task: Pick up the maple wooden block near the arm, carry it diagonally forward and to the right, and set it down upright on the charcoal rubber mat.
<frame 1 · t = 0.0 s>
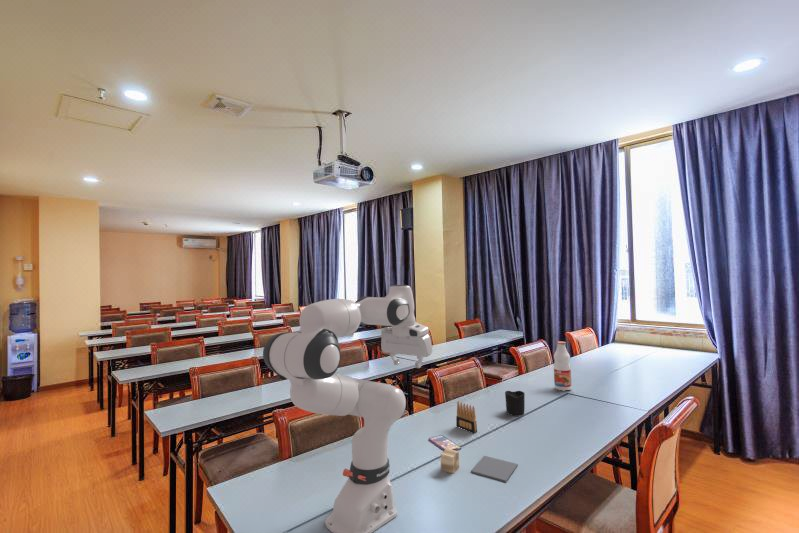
hand: (407, 365, 139), 39 cm above the table, tool pointing down, fingers open, 8 cm apart
ammunition clip: (466, 430, 175), on the table
fruit juice: (563, 389, 229), on the table
smartphone: (444, 445, 161), on the table
pen holder: (515, 413, 194), on the table
maple block: (450, 469, 141), on the table
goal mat: (494, 468, 140), on the table
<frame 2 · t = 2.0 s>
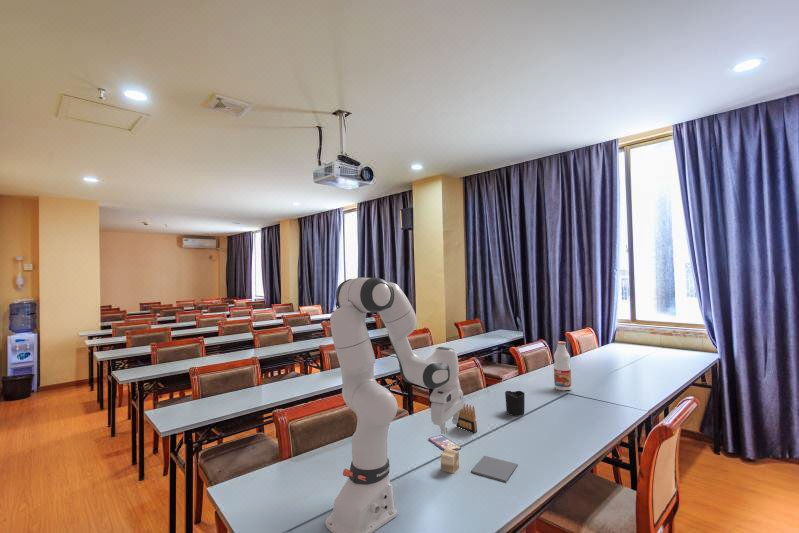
hand: (449, 428, 141), 15 cm above the table, tool pointing down, fingers open, 8 cm apart
nothing on the table moved.
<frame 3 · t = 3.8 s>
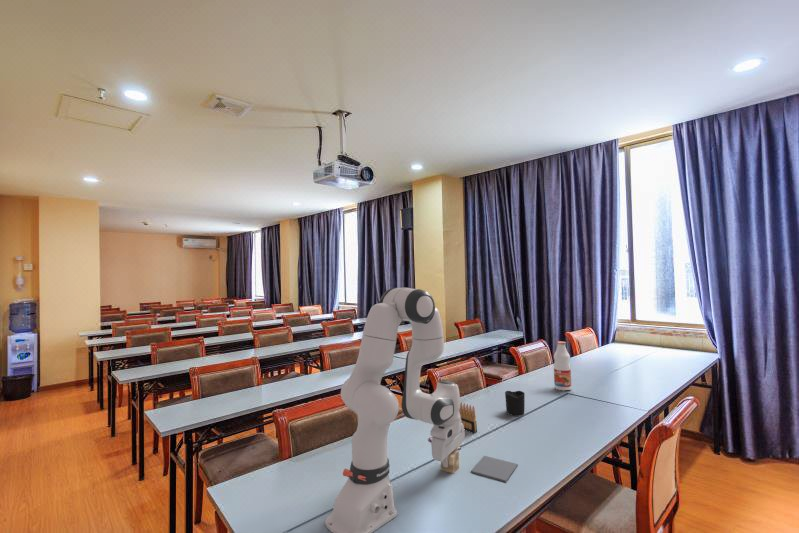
hand: (450, 462, 141), 2 cm above the table, tool pointing down, fingers closed on maple block, 5 cm apart
maple block: (450, 468, 141), on the table, touching gripper
everything else where it was.
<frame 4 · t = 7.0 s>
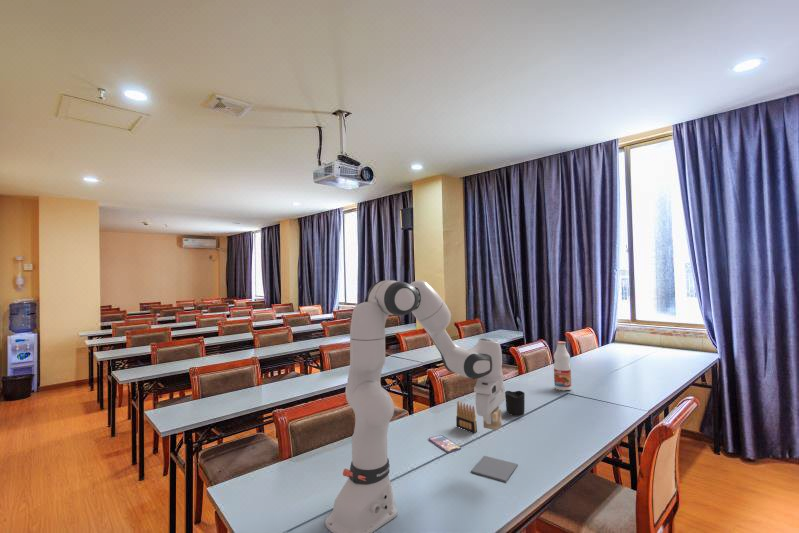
hand: (492, 420, 140), 18 cm above the table, tool pointing down, fingers closed on maple block, 5 cm apart
maple block: (492, 426, 140), point 15 cm above the table, touching gripper
everything else where it was.
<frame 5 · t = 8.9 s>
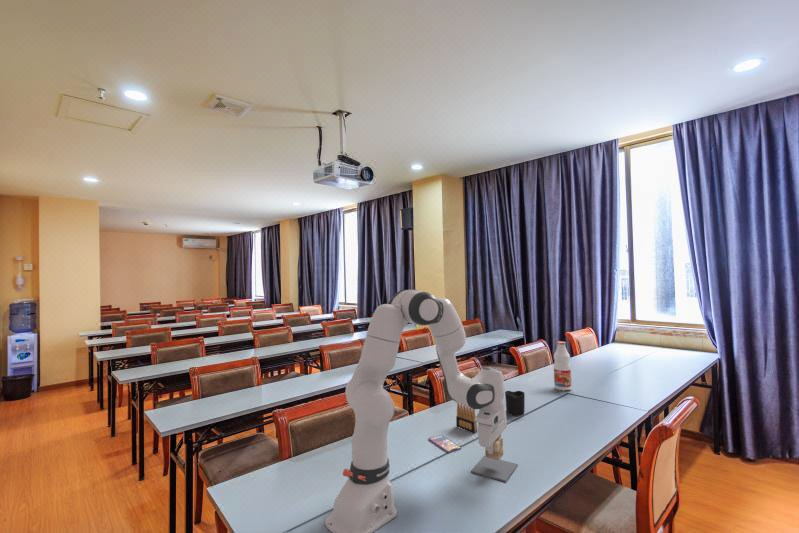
hand: (494, 449, 140), 7 cm above the table, tool pointing down, fingers closed on maple block, 5 cm apart
maple block: (494, 455, 140), point 5 cm above the table, touching gripper
everything else where it was.
when the fingers open (4 cm above the table, at t = 10.3 s): maple block drops 1 cm, resting on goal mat.
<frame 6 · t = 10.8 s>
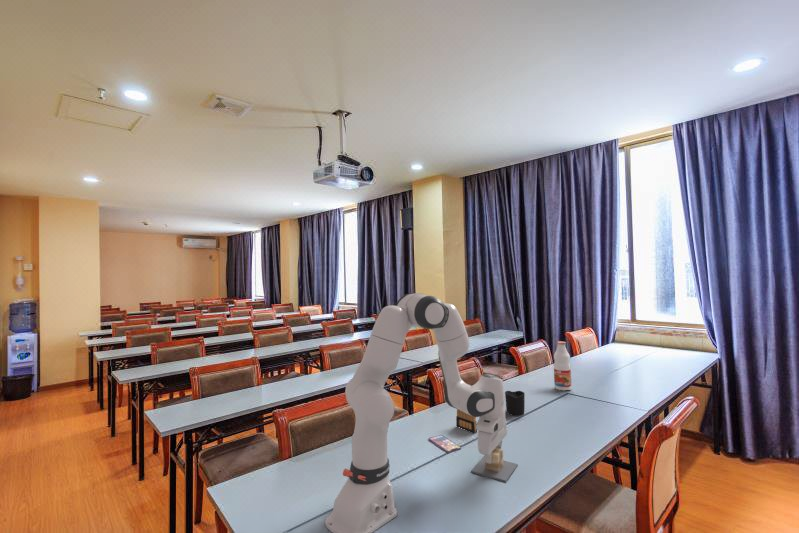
hand: (494, 456, 140), 4 cm above the table, tool pointing down, fingers open, 8 cm apart
maple block: (494, 467, 140), point 1 cm above the table, touching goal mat
everything else where it was.
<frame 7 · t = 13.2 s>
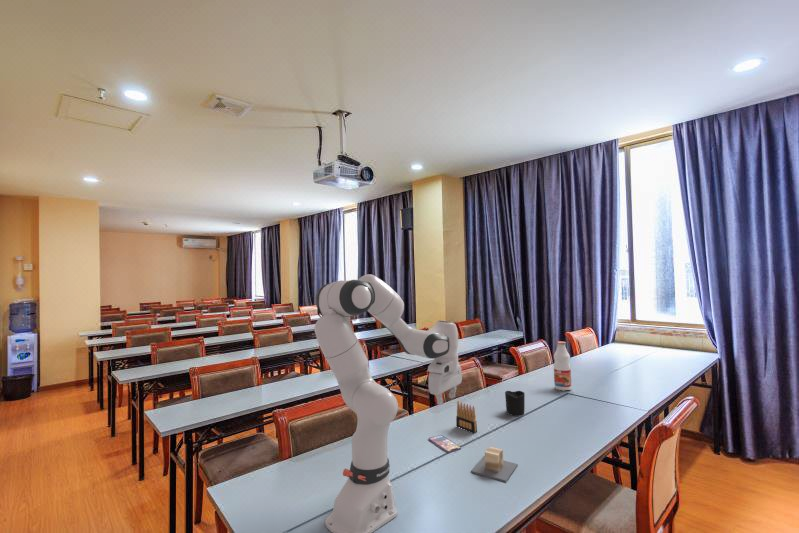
hand: (446, 400, 144), 24 cm above the table, tool pointing down, fingers open, 8 cm apart
nothing on the table moved.
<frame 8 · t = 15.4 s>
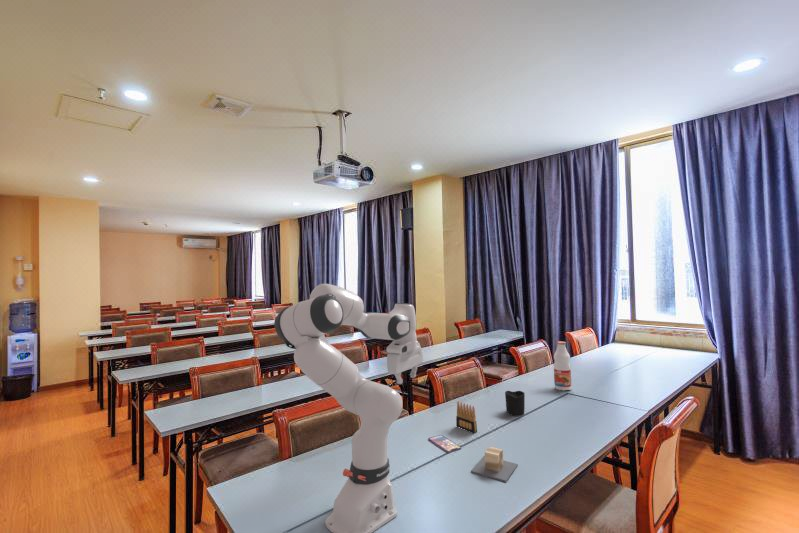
hand: (406, 380, 148), 31 cm above the table, tool pointing down, fingers open, 8 cm apart
nothing on the table moved.
at the end: maple block inside the target area on the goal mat (0.1 cm from its centre), point 0.6 cm above the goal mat's base; maple block tilted 0°; the gripper is holding nothing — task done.
